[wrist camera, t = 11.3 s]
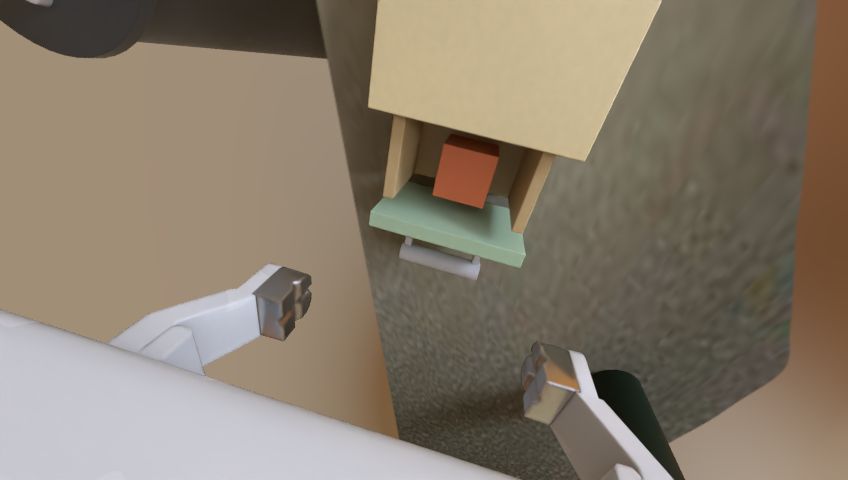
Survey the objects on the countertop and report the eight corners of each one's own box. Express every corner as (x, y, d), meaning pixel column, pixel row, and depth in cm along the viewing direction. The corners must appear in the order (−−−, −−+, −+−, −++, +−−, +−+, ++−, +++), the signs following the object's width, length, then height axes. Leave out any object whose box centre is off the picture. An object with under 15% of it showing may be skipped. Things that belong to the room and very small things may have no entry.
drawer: (499, 259, 30) (500, 311, 24) (391, 228, 31) (362, 271, 25) (580, 56, 21) (619, 47, 15) (425, 21, 22) (395, -2, 16)
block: (440, 179, 27) (431, 195, 23) (450, 133, 25) (443, 143, 21) (484, 191, 26) (482, 209, 23) (499, 145, 24) (499, 157, 21)
